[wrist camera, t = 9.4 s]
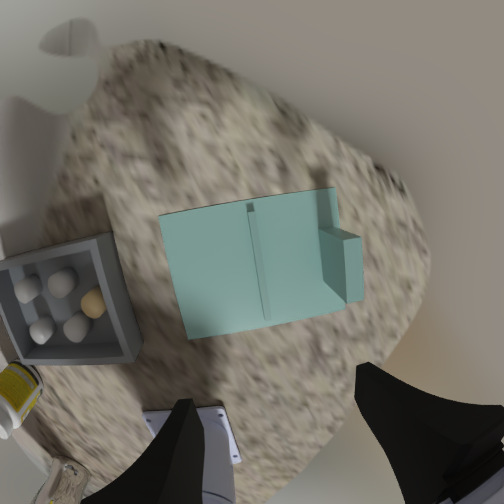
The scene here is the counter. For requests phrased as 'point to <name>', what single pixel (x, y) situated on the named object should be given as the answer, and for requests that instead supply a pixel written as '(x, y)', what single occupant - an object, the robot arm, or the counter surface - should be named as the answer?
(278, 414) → the counter surface
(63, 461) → the beer glass
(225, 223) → the lid
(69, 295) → the tub
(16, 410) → the supplement bottle
